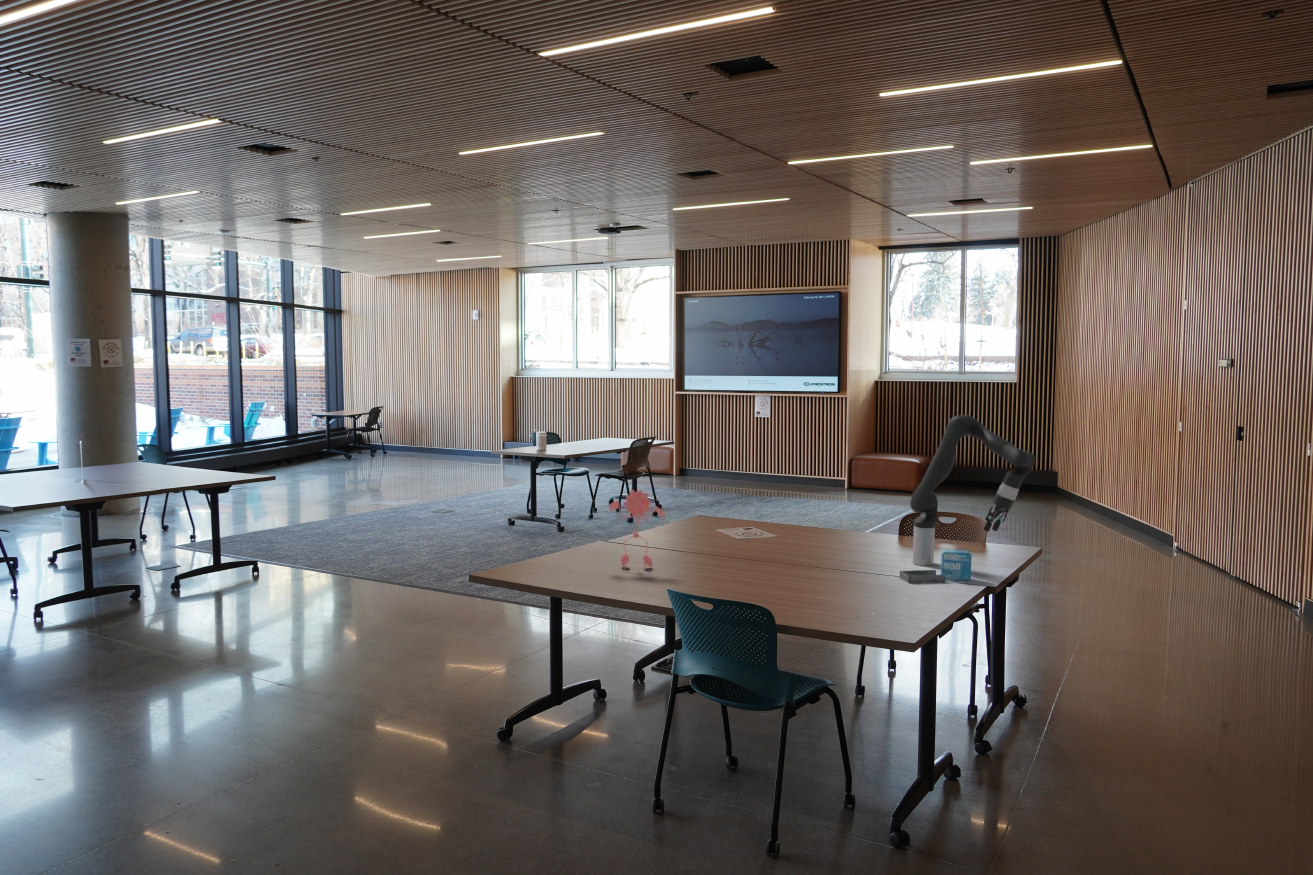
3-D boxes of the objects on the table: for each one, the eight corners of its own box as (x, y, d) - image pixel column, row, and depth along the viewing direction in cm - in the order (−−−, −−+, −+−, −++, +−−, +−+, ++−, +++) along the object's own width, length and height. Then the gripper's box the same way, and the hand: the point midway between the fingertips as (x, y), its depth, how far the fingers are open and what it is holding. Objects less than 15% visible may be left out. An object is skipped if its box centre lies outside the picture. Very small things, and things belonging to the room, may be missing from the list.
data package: (941, 579, 383) (942, 551, 382) (940, 576, 387) (941, 549, 386) (970, 580, 380) (971, 553, 379) (969, 578, 384) (970, 550, 383)
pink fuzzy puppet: (663, 571, 396) (663, 492, 394) (606, 568, 401) (606, 490, 399) (668, 564, 411) (669, 488, 410) (614, 562, 416) (614, 487, 414)
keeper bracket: (899, 577, 385) (899, 570, 385) (935, 576, 387) (935, 569, 387) (908, 583, 376) (909, 575, 375) (945, 581, 378) (945, 574, 378)
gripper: (1004, 491, 378) (989, 526, 382) (991, 491, 367) (974, 526, 371) (1021, 499, 373) (1005, 534, 377) (1007, 499, 363) (991, 535, 366)
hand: (990, 530), depth 374 cm, fingers open, 8 cm apart
